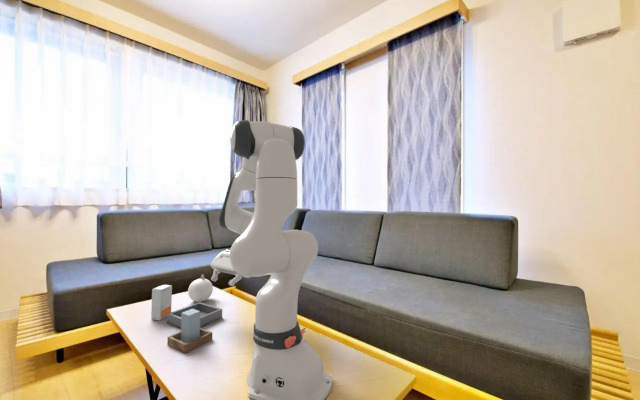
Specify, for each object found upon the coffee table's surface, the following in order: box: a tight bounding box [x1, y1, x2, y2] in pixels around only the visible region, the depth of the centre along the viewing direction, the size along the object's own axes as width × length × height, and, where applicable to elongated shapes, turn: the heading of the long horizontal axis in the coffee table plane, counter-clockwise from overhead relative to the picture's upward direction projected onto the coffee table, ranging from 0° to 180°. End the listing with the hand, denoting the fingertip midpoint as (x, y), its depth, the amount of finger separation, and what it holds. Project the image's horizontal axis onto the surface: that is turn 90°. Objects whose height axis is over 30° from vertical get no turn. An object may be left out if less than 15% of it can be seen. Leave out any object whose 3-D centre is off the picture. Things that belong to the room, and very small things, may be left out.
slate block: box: [180, 309, 200, 343], centre depth 89 cm, size 4×4×10 cm
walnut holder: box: [167, 327, 213, 354], centre depth 89 cm, size 10×10×2 cm
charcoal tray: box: [166, 302, 223, 330], centre depth 105 cm, size 14×14×4 cm
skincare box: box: [150, 284, 173, 321], centre depth 107 cm, size 6×4×12 cm
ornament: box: [187, 274, 214, 303], centre depth 125 cm, size 10×10×12 cm
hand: (221, 282), depth 100 cm, fingers open, 8 cm apart
